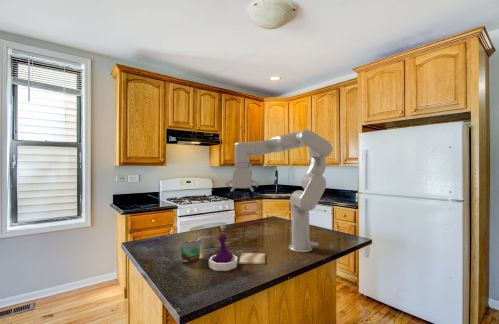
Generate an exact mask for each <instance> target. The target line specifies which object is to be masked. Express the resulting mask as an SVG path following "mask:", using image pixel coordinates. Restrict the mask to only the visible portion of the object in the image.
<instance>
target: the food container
mask: <svg viewBox="0 0 499 324" xmlns="http://www.w3.org/2000/svg"><path fill="white" fill-rule="evenodd" d="M202 244H203V240H202V238H201V237H200V236H197V237H196V238H194V239H189V240H187V241H184V242H182V241H180V242H179V248H180V253H181V254H180V257H181V263H182V264H188V265H189V264H195V263H197V262H199V261H200V255H201V245H202Z"/></svg>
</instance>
